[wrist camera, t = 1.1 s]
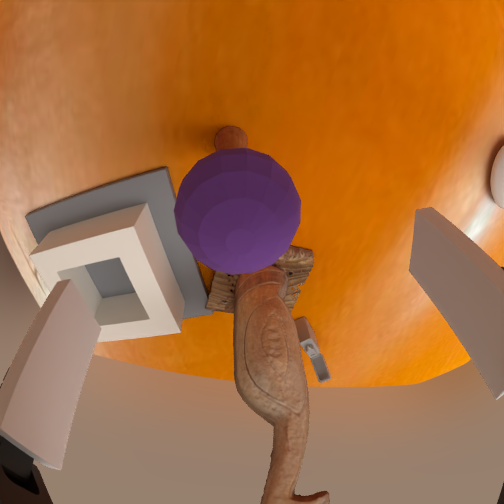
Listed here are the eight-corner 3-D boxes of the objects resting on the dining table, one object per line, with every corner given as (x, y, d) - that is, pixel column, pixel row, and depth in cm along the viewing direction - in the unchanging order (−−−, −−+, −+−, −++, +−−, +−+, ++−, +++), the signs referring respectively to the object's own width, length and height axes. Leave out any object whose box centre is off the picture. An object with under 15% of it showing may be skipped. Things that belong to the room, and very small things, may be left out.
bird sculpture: (287, 312, 42) (337, 544, 15) (205, 304, 40) (202, 558, 13) (311, 245, 36) (415, 525, 10) (216, 231, 34) (215, 567, 8)
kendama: (211, 176, 30) (195, 311, 14) (193, 122, 27) (141, 195, 10) (266, 161, 30) (322, 280, 13) (252, 106, 27) (300, 150, 10)
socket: (28, 213, 30) (2, 238, 24) (167, 166, 29) (153, 187, 24) (91, 326, 41) (79, 358, 35) (213, 308, 40) (212, 345, 35)
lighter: (293, 321, 43) (304, 364, 36) (304, 316, 42) (317, 359, 36) (310, 345, 46) (321, 386, 40) (320, 341, 46) (332, 381, 39)
